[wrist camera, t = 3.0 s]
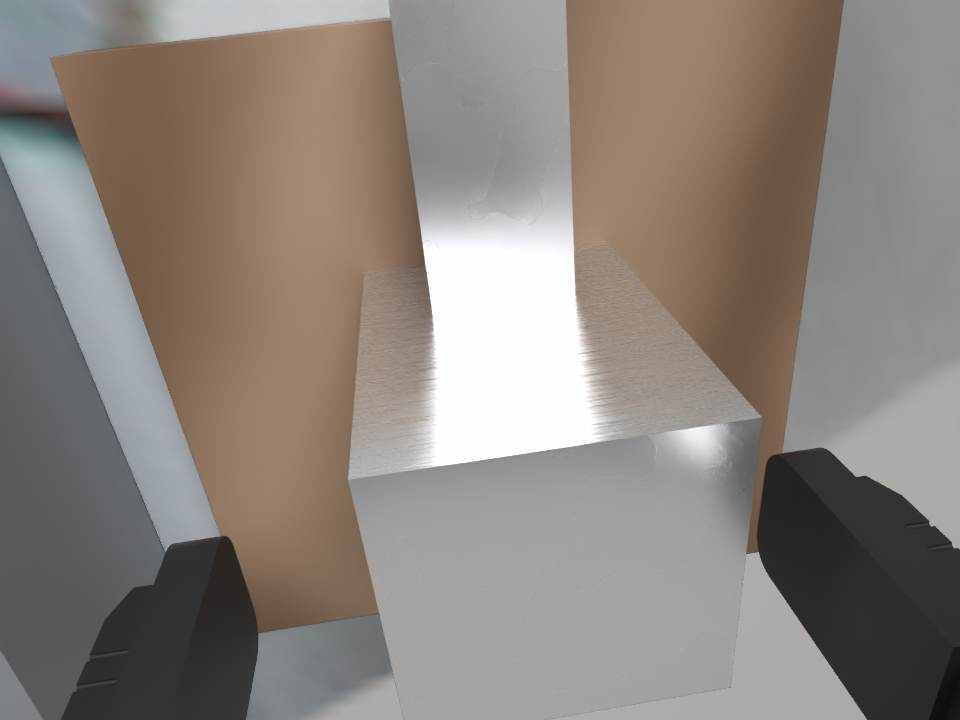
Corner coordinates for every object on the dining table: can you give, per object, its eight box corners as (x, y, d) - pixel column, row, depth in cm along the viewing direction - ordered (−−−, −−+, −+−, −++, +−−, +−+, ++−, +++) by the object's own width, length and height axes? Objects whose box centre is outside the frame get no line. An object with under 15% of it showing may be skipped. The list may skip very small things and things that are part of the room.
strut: (305, -39, 11) (220, -74, 5) (603, -70, 12) (826, -135, 6) (430, 631, 19) (451, 923, 13) (609, 602, 19) (708, 874, 13)
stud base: (803, -28, 14) (1082, -43, 8) (743, 514, 20) (876, 707, 15) (84, 51, 13) (-141, 95, 7) (264, 590, 20) (217, 825, 14)
